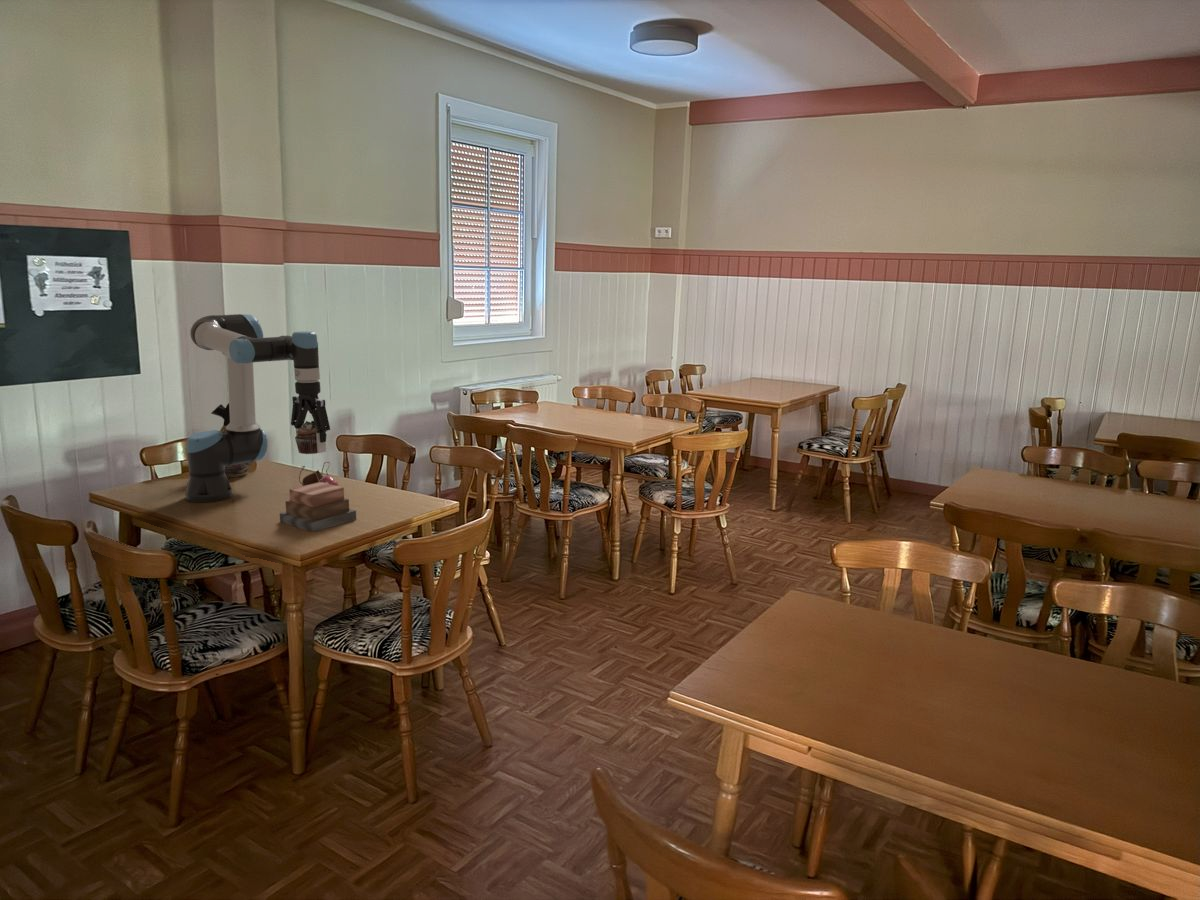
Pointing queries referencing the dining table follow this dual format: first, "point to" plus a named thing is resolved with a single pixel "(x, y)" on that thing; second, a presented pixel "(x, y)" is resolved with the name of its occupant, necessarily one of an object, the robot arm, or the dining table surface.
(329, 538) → the dining table surface
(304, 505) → the stepped pyramid block
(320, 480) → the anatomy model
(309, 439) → the cupcake
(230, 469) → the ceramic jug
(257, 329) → the robot arm
